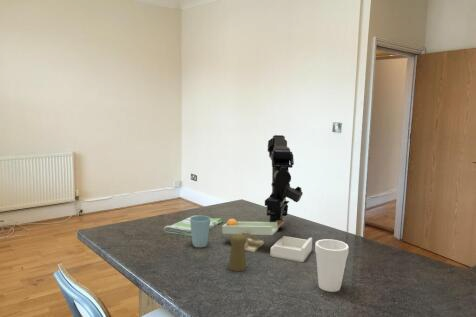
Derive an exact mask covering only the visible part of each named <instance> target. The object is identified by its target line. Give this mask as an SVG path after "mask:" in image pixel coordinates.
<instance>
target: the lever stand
mask: <svg viewBox="0 0 476 317" xmlns="http://www.w3.org/2000/svg"><path fill="white" fill-rule="evenodd" d="M242 235H244V236H245V237H246V243H245V245H244V248H245V251H248V252H253V253H255V252H257V250H258V249H260V248H261V247H262V246H263V245H264V244H265V241H264V240H261V239H258V235H252V234H250V235H251V237H250V238H249V234H248V233H247V232H242Z"/></svg>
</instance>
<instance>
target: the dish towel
mask: <svg viewBox="0 0 476 317" xmlns="http://www.w3.org/2000/svg"><path fill="white" fill-rule="evenodd" d="M193 216H200V215H197V214H196V215H194V214H193V215H192V216H190V217H187V218H185V219H182V220H181V221H178V222H175V223H173V224H170V225H165V226H164V227H163V231H164V232H165V233H171V234H176V235H181V236H186V237H192V233H191V223H190V218H191V217H193ZM210 218H211V220H210V227H209V231H211V230H212V229H215V228H216V227H218V226H220V225H222V224H223V223H224V221H223V219H222V218H219V217H217V218H215V217H214V218H212V217H210Z"/></svg>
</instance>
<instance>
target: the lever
mask: <svg viewBox="0 0 476 317" xmlns="http://www.w3.org/2000/svg"><path fill="white" fill-rule="evenodd" d="M284 224H285V220H283V219H282V220H277V221H276V222H269V221H237V226H227V222H226V223H225V224H223V225H221V231H222V234H223V235H234V234H242V232H247V233H248V235H257V236H263V235H264V236H273V235H274V234H275V233H276V232H278V231H277V230H278V228H279V227H280V226H281V225H282V226H284Z"/></svg>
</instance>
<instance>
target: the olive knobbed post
mask: <svg viewBox="0 0 476 317" xmlns="http://www.w3.org/2000/svg"><path fill="white" fill-rule="evenodd" d="M229 242H230V244H231V247H230V253H229V261H228V267H227V268H228V269H229V270H231V271H234V272H243V271H246V270H247V259H246V250H245V248H244V245H245V243H246V237H245V236H244V235H242V234H231V236H230V239H229Z"/></svg>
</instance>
